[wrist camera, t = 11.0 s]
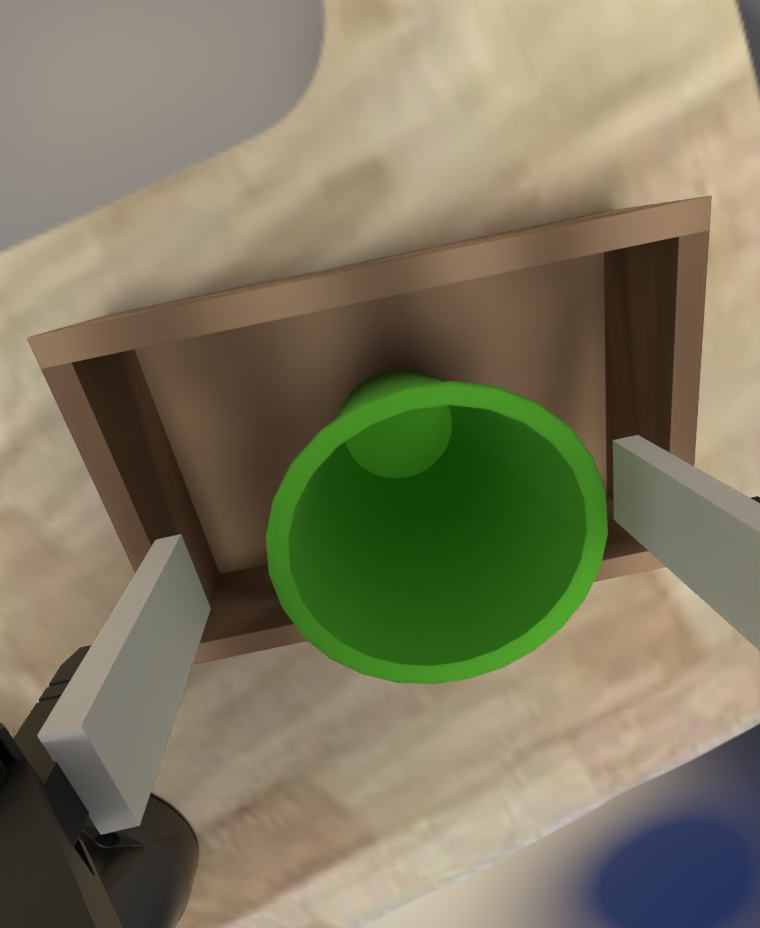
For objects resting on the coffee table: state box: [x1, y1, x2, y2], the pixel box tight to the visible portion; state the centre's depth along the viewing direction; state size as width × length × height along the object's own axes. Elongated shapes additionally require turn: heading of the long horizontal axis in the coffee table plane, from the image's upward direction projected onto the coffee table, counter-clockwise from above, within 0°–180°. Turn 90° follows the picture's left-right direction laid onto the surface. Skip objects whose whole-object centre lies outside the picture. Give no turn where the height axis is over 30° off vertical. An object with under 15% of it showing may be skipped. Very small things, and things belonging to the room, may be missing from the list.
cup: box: [266, 369, 608, 684], centre depth 18 cm, size 9×9×11 cm
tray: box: [27, 196, 712, 664], centre depth 21 cm, size 22×14×6 cm, turn 101°
